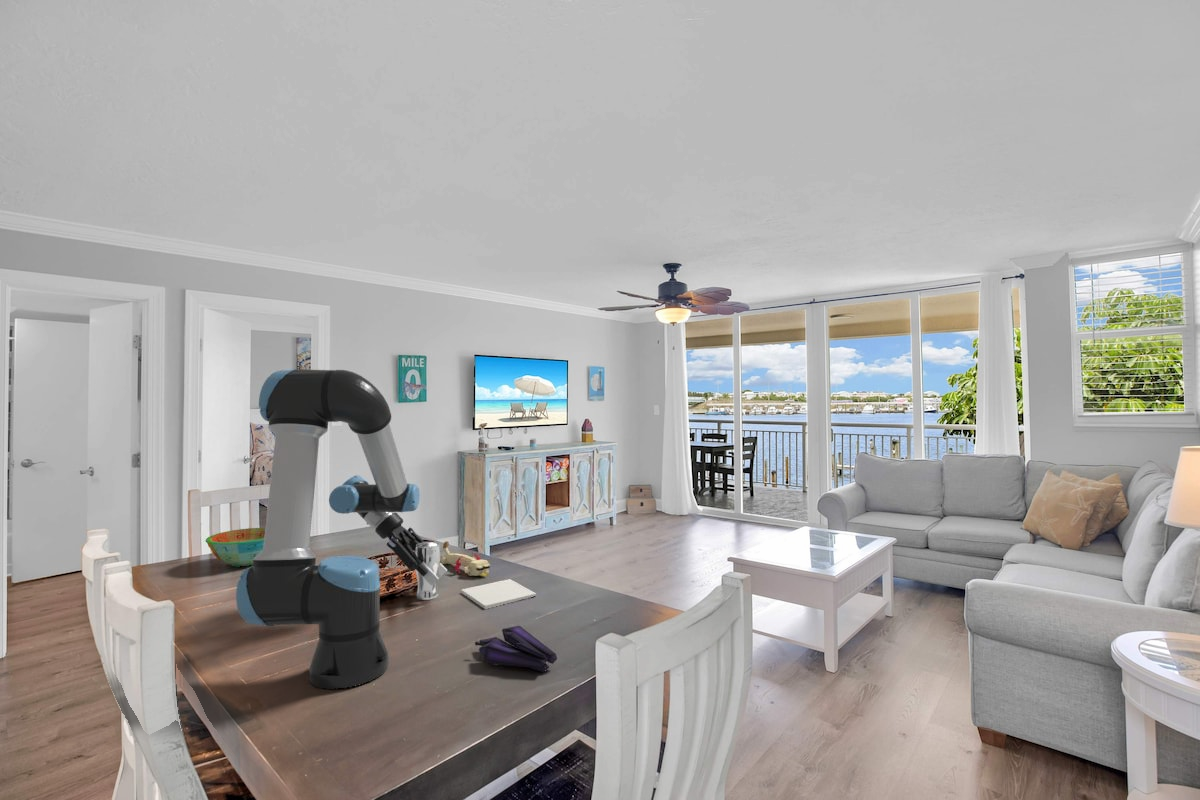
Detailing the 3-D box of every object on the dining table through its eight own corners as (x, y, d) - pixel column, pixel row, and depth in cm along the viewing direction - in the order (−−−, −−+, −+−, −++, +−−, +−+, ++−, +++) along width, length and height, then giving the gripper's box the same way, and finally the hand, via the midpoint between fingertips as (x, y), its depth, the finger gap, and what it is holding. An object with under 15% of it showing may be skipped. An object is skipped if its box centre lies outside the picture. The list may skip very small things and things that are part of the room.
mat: (536, 596, 163) (536, 593, 163) (485, 609, 154) (485, 605, 154) (510, 582, 176) (510, 579, 176) (461, 592, 167) (461, 589, 167)
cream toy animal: (431, 569, 194) (473, 579, 177) (430, 543, 194) (471, 551, 177) (456, 563, 201) (499, 572, 184) (455, 538, 201) (498, 545, 184)
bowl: (224, 578, 179) (224, 546, 179) (193, 566, 191) (193, 537, 191) (295, 561, 198) (295, 532, 198) (262, 551, 210) (262, 524, 210)
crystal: (565, 635, 123) (497, 608, 134) (531, 662, 113) (460, 630, 124) (565, 666, 124) (497, 637, 135) (531, 694, 114) (461, 660, 125)
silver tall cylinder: (444, 596, 164) (444, 544, 164) (422, 602, 159) (422, 549, 159) (432, 590, 169) (432, 540, 168) (410, 596, 163) (410, 544, 163)
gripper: (389, 522, 174) (441, 576, 173) (359, 538, 155) (417, 598, 154) (406, 505, 174) (459, 559, 173) (378, 518, 154) (437, 579, 153)
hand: (439, 577), depth 163 cm, fingers closed on silver tall cylinder, 7 cm apart
